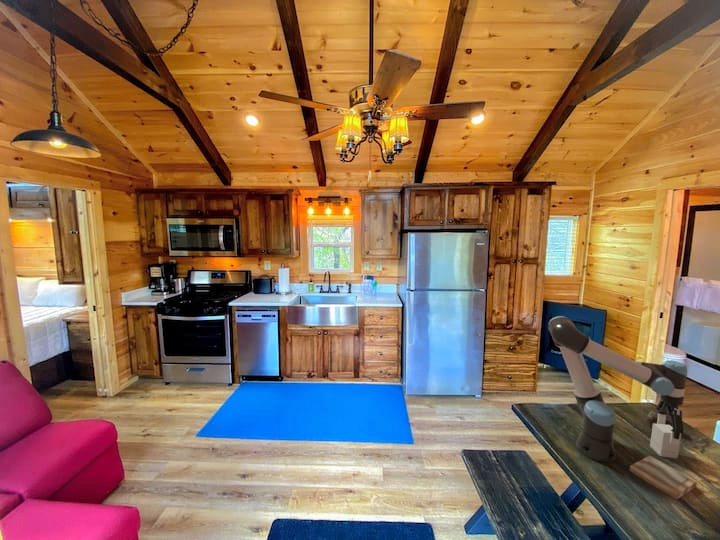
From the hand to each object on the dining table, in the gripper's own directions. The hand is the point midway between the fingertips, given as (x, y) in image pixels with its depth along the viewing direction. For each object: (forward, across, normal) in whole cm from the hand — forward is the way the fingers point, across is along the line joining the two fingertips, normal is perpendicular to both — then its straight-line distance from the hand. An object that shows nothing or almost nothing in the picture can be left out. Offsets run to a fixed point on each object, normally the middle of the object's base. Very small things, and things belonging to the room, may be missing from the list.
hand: (667, 435), depth 148 cm
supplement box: (+10, 0, +1) cm, 10 cm away
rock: (+10, +24, -6) cm, 27 cm away
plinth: (+9, -21, +9) cm, 24 cm away
